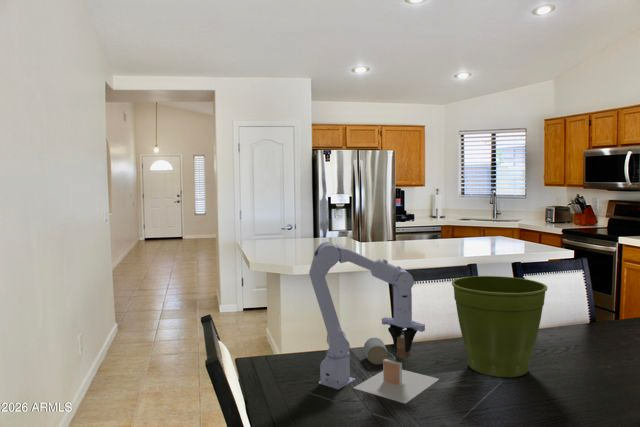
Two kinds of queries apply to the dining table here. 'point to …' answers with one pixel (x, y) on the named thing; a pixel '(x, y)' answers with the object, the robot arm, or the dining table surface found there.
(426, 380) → the mat
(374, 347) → the ceramic mug
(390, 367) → the tile
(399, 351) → the wooden block
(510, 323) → the plant pot
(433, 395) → the dining table surface
